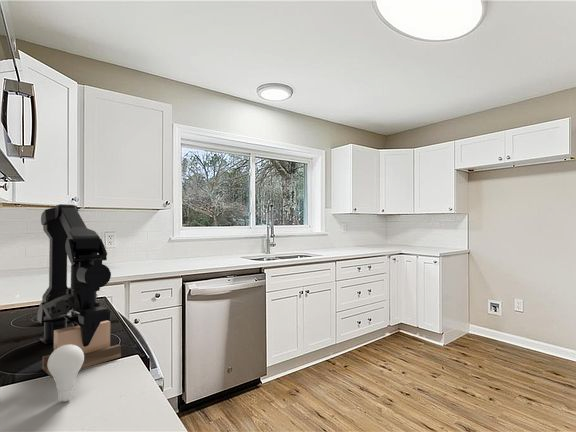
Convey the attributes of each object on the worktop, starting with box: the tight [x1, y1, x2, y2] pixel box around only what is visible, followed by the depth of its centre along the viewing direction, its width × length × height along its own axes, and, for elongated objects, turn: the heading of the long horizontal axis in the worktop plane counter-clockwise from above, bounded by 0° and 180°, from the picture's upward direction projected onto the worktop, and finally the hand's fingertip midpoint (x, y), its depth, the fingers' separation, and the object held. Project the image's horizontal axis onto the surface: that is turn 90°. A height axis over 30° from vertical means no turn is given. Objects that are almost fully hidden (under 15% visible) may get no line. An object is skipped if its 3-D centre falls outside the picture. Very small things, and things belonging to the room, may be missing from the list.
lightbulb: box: [47, 344, 84, 403], centre depth 67 cm, size 6×6×11 cm
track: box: [41, 339, 122, 379], centre depth 85 cm, size 8×16×3 cm, turn 141°
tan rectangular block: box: [53, 320, 111, 354], centre depth 86 cm, size 3×12×7 cm, turn 141°
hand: (83, 344), depth 86 cm, fingers closed on tan rectangular block, 3 cm apart
